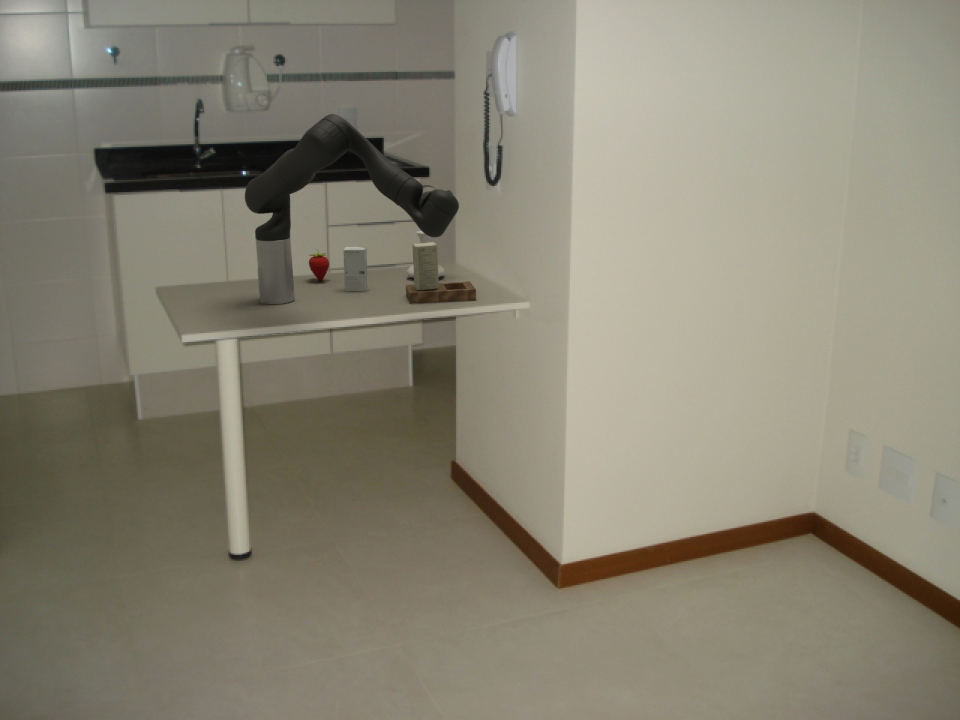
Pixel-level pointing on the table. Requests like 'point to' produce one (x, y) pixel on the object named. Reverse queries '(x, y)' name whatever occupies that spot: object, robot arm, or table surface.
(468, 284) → the wooden box
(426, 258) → the skincare box
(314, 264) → the strawberry
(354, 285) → the skincare box
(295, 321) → the table surface
